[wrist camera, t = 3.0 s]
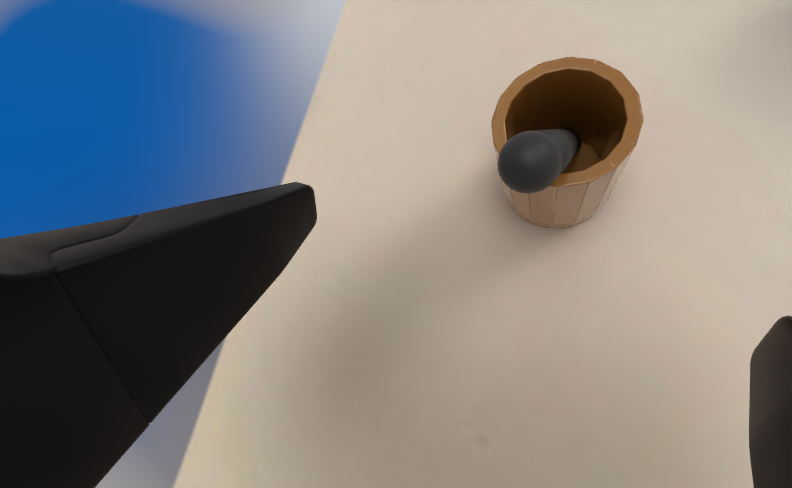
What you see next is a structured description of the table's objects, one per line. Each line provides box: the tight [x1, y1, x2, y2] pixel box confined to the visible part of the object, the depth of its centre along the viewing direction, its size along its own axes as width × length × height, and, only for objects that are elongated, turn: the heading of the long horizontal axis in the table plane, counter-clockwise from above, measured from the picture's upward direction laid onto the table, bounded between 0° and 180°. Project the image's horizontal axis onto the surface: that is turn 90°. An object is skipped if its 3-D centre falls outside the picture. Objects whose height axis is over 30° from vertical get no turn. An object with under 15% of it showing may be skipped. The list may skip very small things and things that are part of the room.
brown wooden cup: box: [491, 57, 643, 228], centre depth 16 cm, size 4×4×6 cm
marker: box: [497, 128, 582, 194], centre depth 13 cm, size 6×1×10 cm, turn 160°
